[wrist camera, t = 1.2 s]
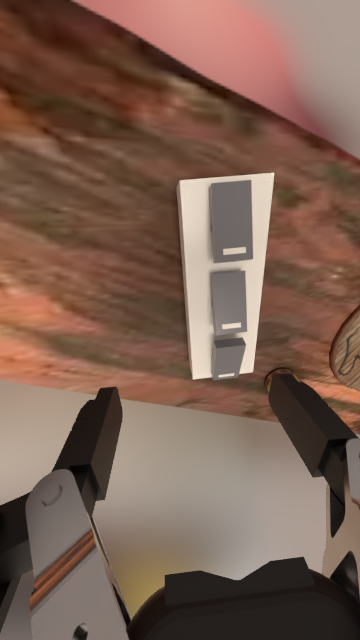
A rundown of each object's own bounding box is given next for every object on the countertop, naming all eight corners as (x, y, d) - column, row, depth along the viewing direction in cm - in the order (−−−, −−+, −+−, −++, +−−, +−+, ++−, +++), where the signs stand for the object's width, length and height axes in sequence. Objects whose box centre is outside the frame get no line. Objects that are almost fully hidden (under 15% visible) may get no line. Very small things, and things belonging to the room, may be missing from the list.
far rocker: (213, 338, 27) (216, 348, 26) (241, 335, 28) (246, 345, 26) (210, 370, 33) (213, 380, 31) (234, 367, 33) (238, 377, 31)
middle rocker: (209, 274, 25) (212, 273, 24) (239, 271, 26) (245, 270, 24) (213, 331, 27) (216, 335, 25) (242, 328, 27) (247, 331, 25)
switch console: (176, 187, 25) (179, 180, 21) (256, 181, 25) (277, 172, 21) (189, 360, 37) (192, 379, 33) (243, 354, 37) (254, 371, 33)
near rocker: (207, 191, 21) (211, 182, 20) (244, 188, 22) (251, 179, 20) (212, 264, 23) (216, 262, 21) (246, 260, 23) (253, 258, 21)
